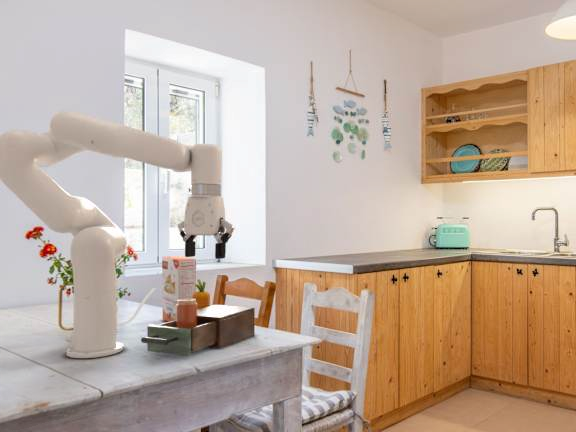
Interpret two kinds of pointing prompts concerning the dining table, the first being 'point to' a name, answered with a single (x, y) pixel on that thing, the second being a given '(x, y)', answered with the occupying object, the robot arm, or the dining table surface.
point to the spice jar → (186, 313)
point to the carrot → (201, 296)
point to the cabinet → (229, 323)
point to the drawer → (180, 337)
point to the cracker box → (177, 283)
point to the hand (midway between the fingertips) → (205, 257)
